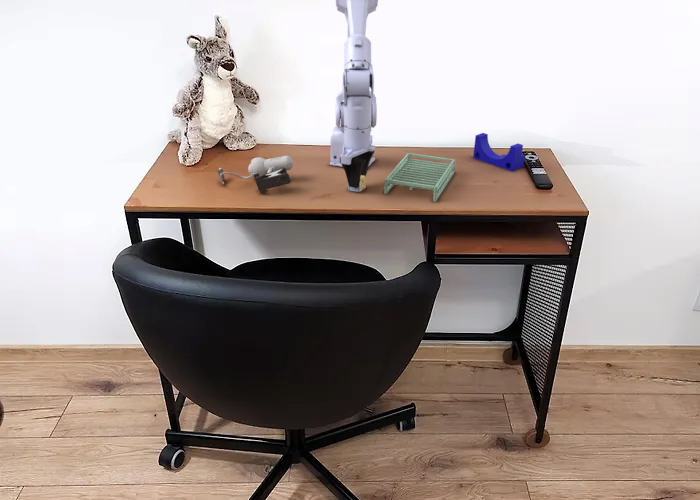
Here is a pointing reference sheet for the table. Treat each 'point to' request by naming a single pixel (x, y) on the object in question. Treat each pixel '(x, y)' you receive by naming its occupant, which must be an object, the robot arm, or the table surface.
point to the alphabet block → (361, 185)
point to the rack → (421, 174)
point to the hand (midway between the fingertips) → (356, 183)
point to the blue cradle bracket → (508, 161)
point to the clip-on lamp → (266, 172)
